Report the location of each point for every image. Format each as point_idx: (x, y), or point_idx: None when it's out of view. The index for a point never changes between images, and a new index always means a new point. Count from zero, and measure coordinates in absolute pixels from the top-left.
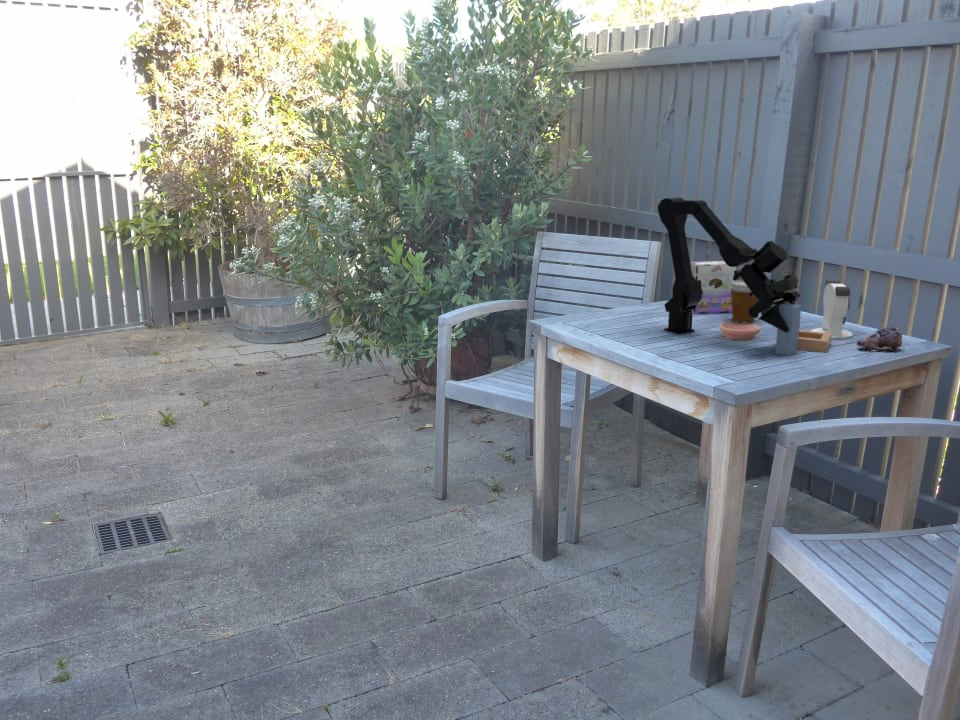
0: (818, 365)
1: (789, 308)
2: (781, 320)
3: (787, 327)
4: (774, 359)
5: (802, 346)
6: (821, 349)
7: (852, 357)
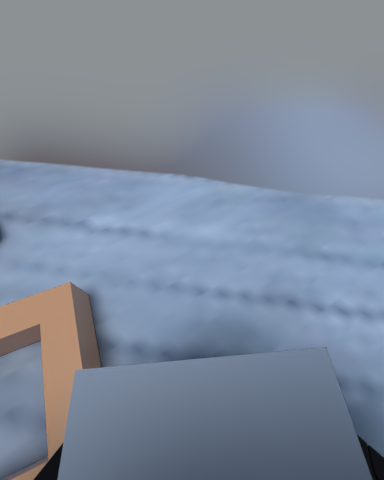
0: (244, 236)
1: (343, 437)
2: (361, 439)
3: None
4: None
5: None
6: (86, 306)
7: (96, 221)
